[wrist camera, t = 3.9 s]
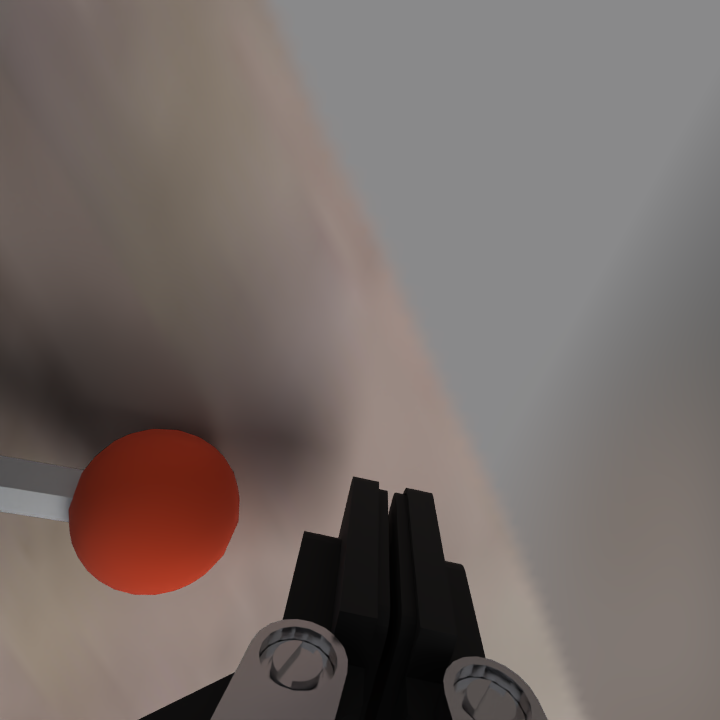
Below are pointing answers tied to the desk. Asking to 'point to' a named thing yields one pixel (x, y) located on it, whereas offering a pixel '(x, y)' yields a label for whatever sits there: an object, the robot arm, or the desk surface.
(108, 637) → the desk surface
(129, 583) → the lever
